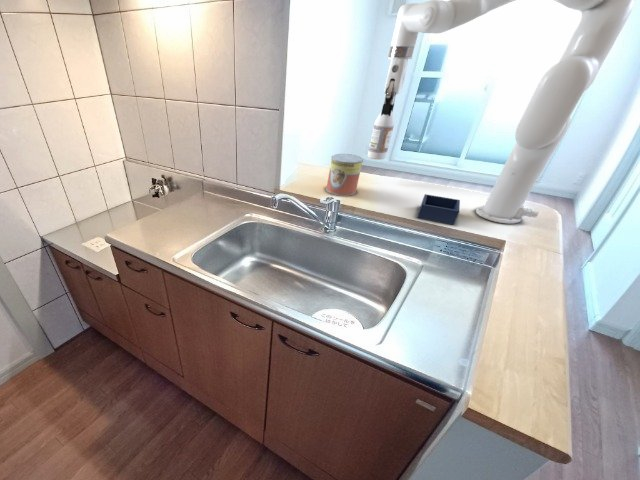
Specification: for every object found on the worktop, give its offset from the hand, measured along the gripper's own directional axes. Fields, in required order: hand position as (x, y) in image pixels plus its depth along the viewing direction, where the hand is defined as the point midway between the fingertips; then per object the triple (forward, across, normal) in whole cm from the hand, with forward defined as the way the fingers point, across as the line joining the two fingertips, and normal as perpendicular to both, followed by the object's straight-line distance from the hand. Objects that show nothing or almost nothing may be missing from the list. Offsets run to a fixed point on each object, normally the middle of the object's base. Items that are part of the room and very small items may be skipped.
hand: (386, 115), depth 119 cm
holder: (+25, -24, -26) cm, 43 cm away
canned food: (+24, -17, +8) cm, 30 cm away
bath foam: (+15, 0, 0) cm, 15 cm away
